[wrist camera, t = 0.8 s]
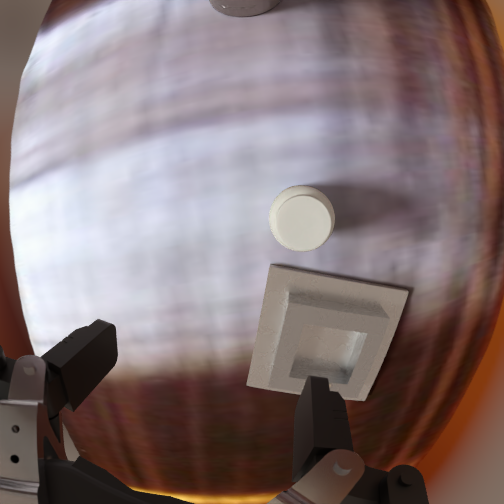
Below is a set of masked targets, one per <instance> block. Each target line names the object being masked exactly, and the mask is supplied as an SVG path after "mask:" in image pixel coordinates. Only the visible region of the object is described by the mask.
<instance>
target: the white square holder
mask: <svg viewBox="0 0 504 504" xmlns="http://www.w3.org/2000/svg"><path fill="white" fill-rule="evenodd" d="M408 292H409V291H407V290H406V289H404V288H399V287H393V286H387V285H382V284H376V283H370V282H365V281H359V280H354V279H348V278H343V277H337V276H332V275H326V274H321V273H315V272H310V271H304V270H299V269H293V268H288V267H283V266H277V265H272V264H270V267H269V273H268V278H267V284H266V289H265V294H264V299H263V305H262V310H261V315H260V320H259V325H258V331H257V336H256V341H255V346H254V351H253V356H252V361H251V366H250V371H249V376H248V380H247V386H252V387H257V388H263V389H268V390H274V391H280V392H286V393H293V394H300V395H301V392H302V390H303V387H304V385H305V382H306V379H307V377H308V376H309V375H312V376H318V377H326V378H328V380H329V387H330V391H336V392H339V394H340V395H341V396H342V398H343V399H346V400H361V401H365V399H366V397H367V395H368V393H369V391H370V389H371V387H372V385H373V382H374V380H375V378H376V376H377V374H378V372H379V369H380V367H381V365H382V363H383V360H384V358H385V355H386V353H387V351H388V348H389V346H390V343H391V341H392V338H393V336H394V333H395V330H396V328H397V325H398V322H399V319H400V317H401V314H402V311H403V308H404V305H405V302H406V299H407V296H408Z"/></svg>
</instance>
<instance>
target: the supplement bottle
mask: <svg viewBox="0 0 504 504" xmlns="http://www.w3.org/2000/svg"><path fill="white" fill-rule="evenodd" d="M269 224H270V228H271V231H272V233H273V235H274V237H275V238H276V239H277V240H278V242H279V243H280V244H282V245H283V246H285V247H286V248H288V249H290V250H293V251H299V252H305V251H311V250H314V249H316V248H318V247H320V246H321V245H323V244H324V243H325V242H326V241H327V240H328V238H329V237H330V235H331V233H332V231H333V228H334V224H335V214H334V210H333V207H332V204H331V202H330V201H329V199H328V198H327V197H326V196H325V195H324V194H323V193H322V192H321V191H319V190H317V189H315V188H313V187H310V186H303V185H298V186H292V187H289V188H287V189H285V190H284V191H282V192H281V193H280V194H279V195H278V196H277V197H276V199H275V200H274V202H273V203H272V206H271V208H270V213H269Z"/></svg>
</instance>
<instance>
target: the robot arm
mask: <svg viewBox="0 0 504 504" xmlns="http://www.w3.org/2000/svg"><path fill="white" fill-rule="evenodd" d="M209 1H210V3H211V5H212V6H213V7H214V8H215V9H216V10H217V11H219V12H221V13H223V14H226V15H230V16H237V17H244V16H253V15H257V14H261V13H264V12H266V11H268V10H270V9H272V8H273V7H275V6H276V5H277V4H278V3H279V2H280V1H281V0H209ZM117 357H118V350H117V338H116V327H115V325H113V324H111V323H108V322H106V321H103V320H100V319H97V320H96V321H94V322H93V323H92V324H91V325H89V326H85V327H82V328H79V329H76V330H75V331H73V332H72V333H71V334H70V335H68V337H66V338H64V339H63V340H62V342H61V341H60V342H59V343H58V344H57V345H55V346H54V347H53V348H51V349H50V350H49V351H48V352H46V353H45V354H44V355H43V356H41V357H38V356H35V355H27V356H23V357H21V358H19V359H18V360H14V359H11V358H8V357H5V355H4V352H3V349H2V347H1V346H0V504H194V503H190V502H187V501H183V500H180V499H177V498H174V497H171V496H164V495H157V494H150V493H145V492H139V491H135V490H132V489H131V488H129V487H128V486H126V485H125V484H123V483H122V482H121V481H119V480H118V479H117V478H115V477H114V476H113V475H111V474H110V473H109V472H108V471H106V470H105V469H103V468H101V467H99V466H97V465H95V464H93V463H91V462H89V461H87V460H86V459H84V458H82V457H80V456H79V457H78V458H77V460H76V461H75V462H74V461H69V460H68V459H67V456H66V453H65V449H64V440H63V427H62V413H61V409H62V408H63V407H66V408H67V409H69V410H71V411H73V412H74V411H75V410H76V409H77V407H78V406H79V405H80V404H81V403H82V402H83V401H84V399H85V398H86V397H87V396H88V395H89V394H90V393H91V392H92V390H93V389H94V388H95V387H96V386H97V385H98V384H99V383H100V382H101V380H102V379H103V378H104V377H105V376H106V375H107V374H108V373H109V371H110V370H111V369H112V368H113V367H114V366H115V364H116V361H117ZM346 412H347V410H346V405H345V401H344V399H343V398H342V396H341V395H340V394H339V392H336V391H330V387H329V380H328V378H326V377H318V376H312V375H309V376H308V377H307V379H306V382H305V385H304V387H303V390H302V392H301V395H300V398H299V400H298V403H297V406H296V410H295V423H294V452H293V474H292V482H297V483H296V484H295V485H294V486H292V487H291V488H290V489H289V490H287V491H283V492H281V493H280V494H279V495H277V496H276V497H275V498H273V499H272V500H271V501H270V502H268V503H267V504H429V502H428V498H427V492H426V488H425V483H424V479H423V476H422V475H421V473H420V472H419V471H418V470H417V469H416V468H414V467H412V466H410V465H398V466H396V467H394V468H392V469H391V470H390V471H389V472H387V471H382V470H378V469H374V468H371V467H368V466H366V465H364V462H363V460H362V459H361V457H360V456H359V455H357V454H356V453H354V451H353V445H352V439H351V433H350V427H349V421H348V416H347V413H346Z"/></svg>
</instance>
